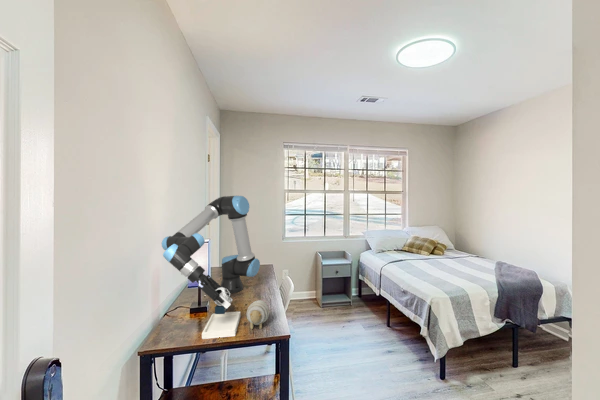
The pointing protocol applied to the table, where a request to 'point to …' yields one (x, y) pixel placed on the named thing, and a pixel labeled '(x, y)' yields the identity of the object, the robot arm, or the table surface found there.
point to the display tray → (221, 325)
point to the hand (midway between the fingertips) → (229, 304)
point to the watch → (219, 307)
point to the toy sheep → (257, 313)
